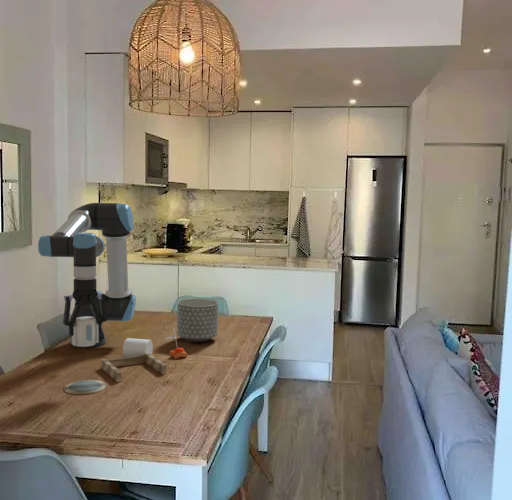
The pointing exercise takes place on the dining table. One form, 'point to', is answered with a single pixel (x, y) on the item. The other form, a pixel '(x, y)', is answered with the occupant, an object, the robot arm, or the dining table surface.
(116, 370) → the wooden u-shaped frame
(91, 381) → the coaster
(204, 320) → the planter
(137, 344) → the mug
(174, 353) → the orange lump with branch
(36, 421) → the dining table surface
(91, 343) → the blue handled white cup
